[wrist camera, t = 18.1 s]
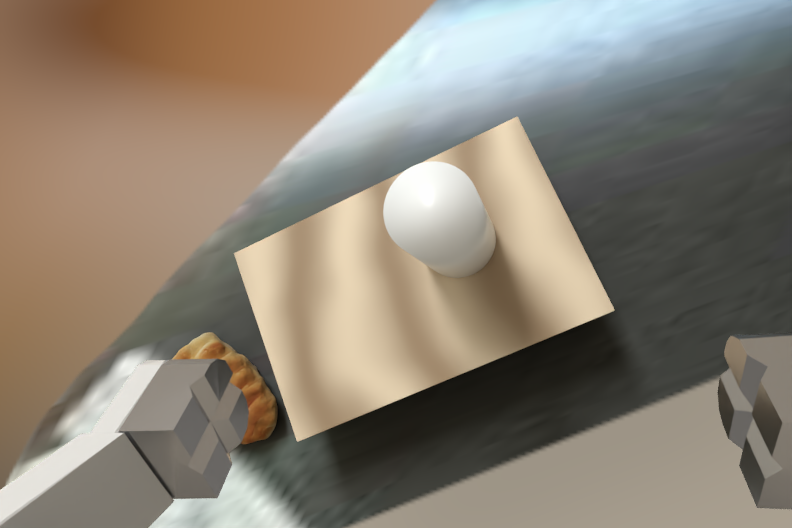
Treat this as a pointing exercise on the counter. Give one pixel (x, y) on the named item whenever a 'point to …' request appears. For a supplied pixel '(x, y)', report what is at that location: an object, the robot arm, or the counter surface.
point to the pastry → (239, 383)
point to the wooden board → (415, 291)
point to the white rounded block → (440, 219)
